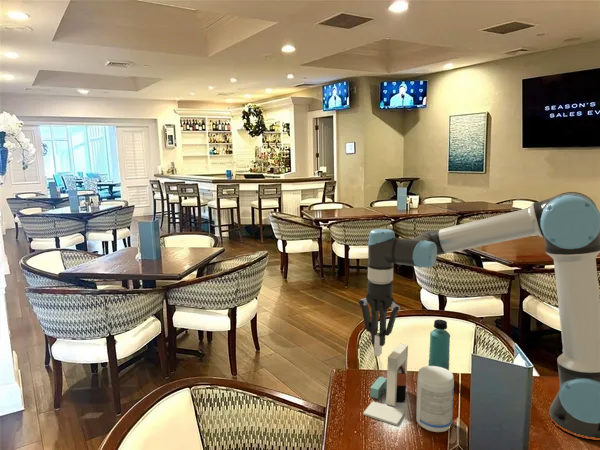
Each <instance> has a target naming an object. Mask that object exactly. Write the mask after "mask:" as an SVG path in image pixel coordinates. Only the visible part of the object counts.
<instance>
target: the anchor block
mask: <svg viewBox="0 0 600 450" xmlns="http://www.w3.org/2000/svg"><path fill="white" fill-rule="evenodd" d="M369 389H370V390H369V391H370V392H369V397H370V398H374V399H376V400H378V399H379V398H380V397H381V396H382V394H383V393H384V391H385V390H387V377H383V376H379V377H378V378H376V380H375V381H374V382H373V384H372V385H371V386H370V387H369Z"/></svg>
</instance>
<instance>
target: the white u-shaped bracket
mask: <svg viewBox="0 0 600 450" xmlns="http://www.w3.org/2000/svg"><path fill="white" fill-rule="evenodd" d="M408 345H409V344H406V343H399V344H398V345H397V346H396V347H395V348H394V349H393V351H391V353H390V354H389V355H388V356H387V371H386V372H387V373H386V378H387V388H386V395H385V396H386V398H385V400H386V404H385V405H387V406H391V407H395V406H396V405H397V402H396V392H397V370H398V368H399V367H400V366H401V365H403V368H404V370H405V373H406V375H407V376H408V357H409V355H408V353H409V352H408V350H409V346H408ZM407 379H408V378H407V377H406V381H407Z"/></svg>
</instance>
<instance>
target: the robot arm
mask: <svg viewBox="0 0 600 450" xmlns="http://www.w3.org/2000/svg"><path fill="white" fill-rule="evenodd" d="M533 236H538V237H541V238H543V239H544V246H545V247H544V248H545V249H544V250H545V254H546V255H548V256H549V258H552V260H553V265H554V267H553V268H554V275H555V285H556V294H557V296H556V297H557V304H558V305H557V307H558V314H559V323H560V331H561V332H560V333H561V343H562V350H561V351H562V353H561V354H560V355H559V356H558V357H557V361H556V362H557V369H558V371H557V372H558V379H559V386H558V387H559V388H558V391H557V393H556V396H555V397H554V399H553V401H552V403H551V405H550V406H549V413H548V415H549V414H550V417H551V418H552V419H553V420H554V421H555V422H556V423H557V424H558V425H560V426H561V427H563V428H565V429H567V430H569V431H571V432H573V433H576V434H580V435H584V436H588V437H595V438H600V290H599V288H600V287H599V280H598V269H597V256H598V255H599V254H600V210H599V209H598V207H597V205H596V203H595V202H594V201H593V200H592V198H591V197H589V196H588V195H585V194H584V193H581V192H577V191H567V192H562V193H559V194H557V195H555V196H552V197H550V198H545V199H543V200H540V201H537V202H532V203H531V205H530V206H529V207H527V208H522V209H519V210H516V211H515V210H514V211H511V212H510V211H509V212H506V213H503V214H498V215H494V216H490V217H485V218H482V219H477V220H473V221H468V222H465V223H461V224H457V225H453V226H448V227H445V228H440V229H437V230H427V231H424V232H422V233H420V234H419V235H417V236H416V237H414V238H413V237H412V238H410V239H409V238H399V237H396V235H395V231H394V230H392V229H388V228H375V229H372V230H370V232H369V234H368V244H367V247H368V249H367V252H368V254H367V255H368V257H367V260H368V261H367V279H368V280H367V285H366V286H367V290H366V291H367V294H366V295H365V298H361V299H360V300H359V301H358V305H359V306H360V308H361V312H362V318H363V322H364V327H365V330H366V331H365V332H367V333H368V332H369V333H371V344H372V345H374V348H373V349H374V351H373V352H374V353H373V356H375V357H380V356H381V355H382V354H383V347H384V345H385V344H386V337H387V336H390V334H392V332H393V328H394V326H395V321H396V319H397V314H398V312H399V311H400V310H401V308H402V307H401V306H402V305H400V304H397V303H396V302H395V299H394V297H393V293H394V291H393V287H394V283H393V282H394V264H396V265H404V266H411V267H416V268H421V269H422V268H428V269H430V268H432V267H434V266H435V264H436V261H437V257H438V256H441V255H445V254H449V253H453V252H458V251H463V250H464V251H465V250H468V249H472V248H473V249H475V248H478V247H483V246H489V245H492V244H498V243H502V242H507V241H513V240H518V239H523V238H528V237H533ZM369 307H370V308H371V312H370V309H369ZM390 308H391V312H390V315H389V319H388V322H387V315H388V309H390Z"/></svg>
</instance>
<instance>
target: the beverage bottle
mask: <svg viewBox="0 0 600 450" xmlns="http://www.w3.org/2000/svg"><path fill="white" fill-rule="evenodd" d="M433 328H434V329H433V330H431V331H430V333H429V336H430V337H429V351H428V353H429V355H428V366H437V367H442V368H445V369H447V370H449V371H450V355H451V354H450V347H451V340H450V339H451V334H450V332H448V331H447V329H448V322H447V320H444V319H435V320H434V322H433Z"/></svg>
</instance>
